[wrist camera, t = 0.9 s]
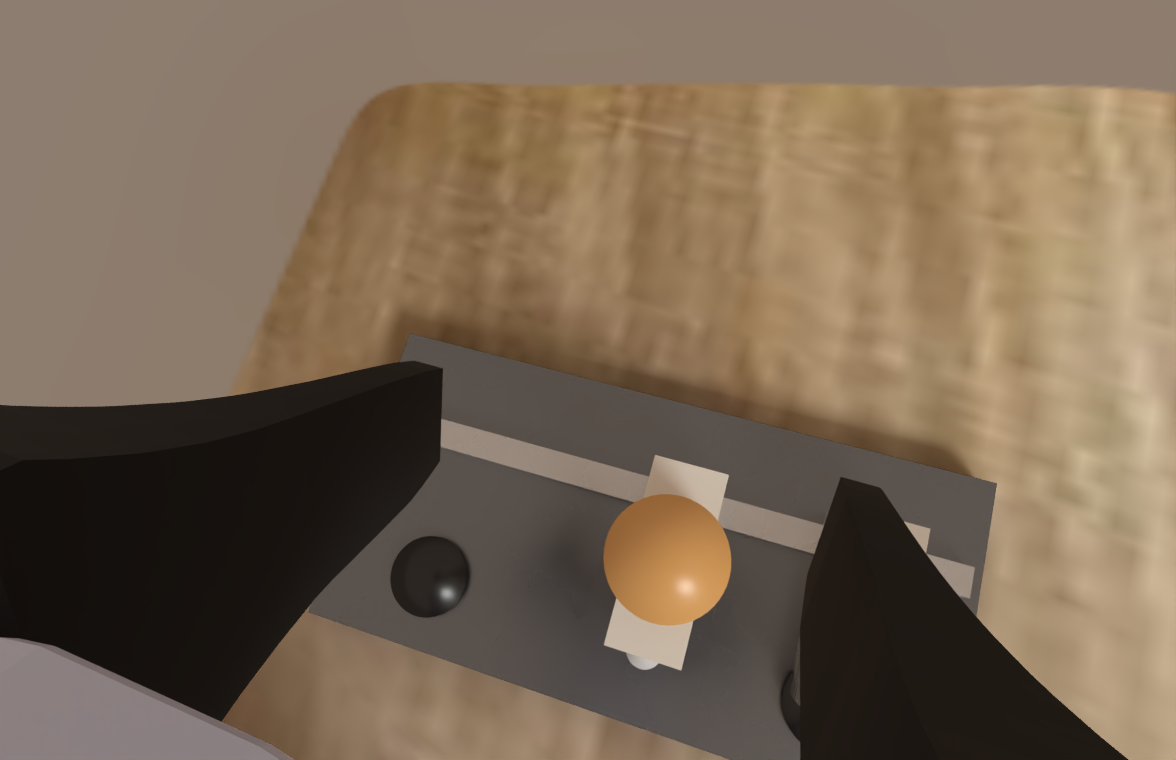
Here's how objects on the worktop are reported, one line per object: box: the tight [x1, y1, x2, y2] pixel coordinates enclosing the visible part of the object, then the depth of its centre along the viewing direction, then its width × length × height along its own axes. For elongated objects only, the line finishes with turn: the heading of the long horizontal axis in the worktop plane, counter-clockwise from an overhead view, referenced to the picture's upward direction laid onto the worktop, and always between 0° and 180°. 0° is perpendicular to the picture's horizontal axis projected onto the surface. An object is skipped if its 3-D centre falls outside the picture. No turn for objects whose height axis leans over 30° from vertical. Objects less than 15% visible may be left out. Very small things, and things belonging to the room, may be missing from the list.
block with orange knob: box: [603, 455, 731, 670], centre depth 20 cm, size 7×3×6 cm, turn 164°
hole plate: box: [308, 334, 997, 760], centre depth 23 cm, size 11×22×4 cm, turn 74°
